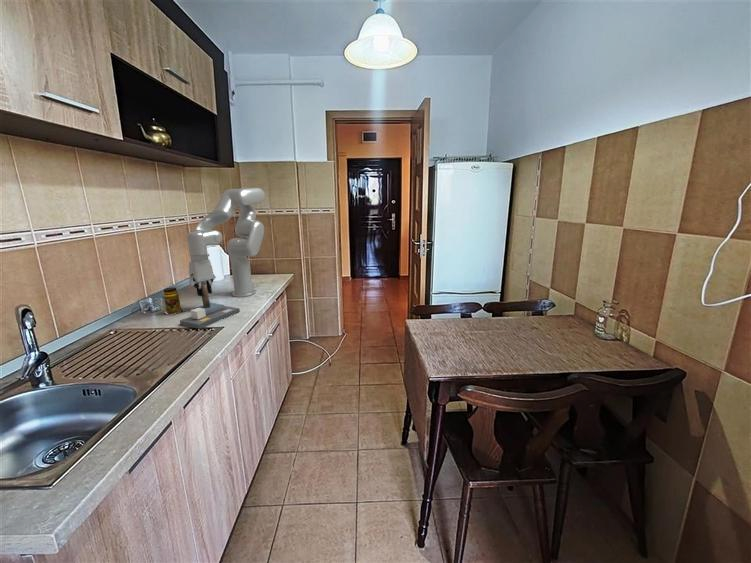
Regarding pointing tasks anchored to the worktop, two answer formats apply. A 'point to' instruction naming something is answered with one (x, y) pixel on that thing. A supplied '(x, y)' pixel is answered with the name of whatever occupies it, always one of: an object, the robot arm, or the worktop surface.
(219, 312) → the switch board
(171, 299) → the condiment
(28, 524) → the worktop surface
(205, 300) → the dowel
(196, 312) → the white cube
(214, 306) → the tool mat
